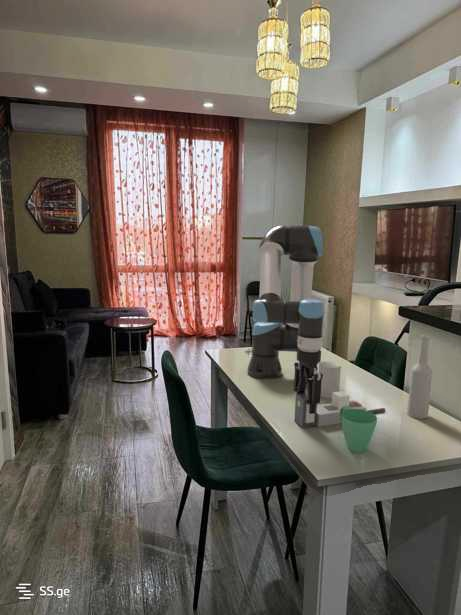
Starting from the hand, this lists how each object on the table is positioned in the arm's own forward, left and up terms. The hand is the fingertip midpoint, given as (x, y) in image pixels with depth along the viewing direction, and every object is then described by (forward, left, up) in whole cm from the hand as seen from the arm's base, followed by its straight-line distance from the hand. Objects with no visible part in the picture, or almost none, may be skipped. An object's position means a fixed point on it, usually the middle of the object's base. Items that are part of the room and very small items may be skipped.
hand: (305, 418), depth 137 cm
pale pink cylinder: (-20, +22, -2) cm, 30 cm away
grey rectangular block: (0, +2, -2) cm, 2 cm away
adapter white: (0, +13, +2) cm, 13 cm away
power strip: (0, +18, -2) cm, 18 cm away
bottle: (+6, +41, -2) cm, 41 cm away
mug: (+17, +6, -2) cm, 18 cm away
